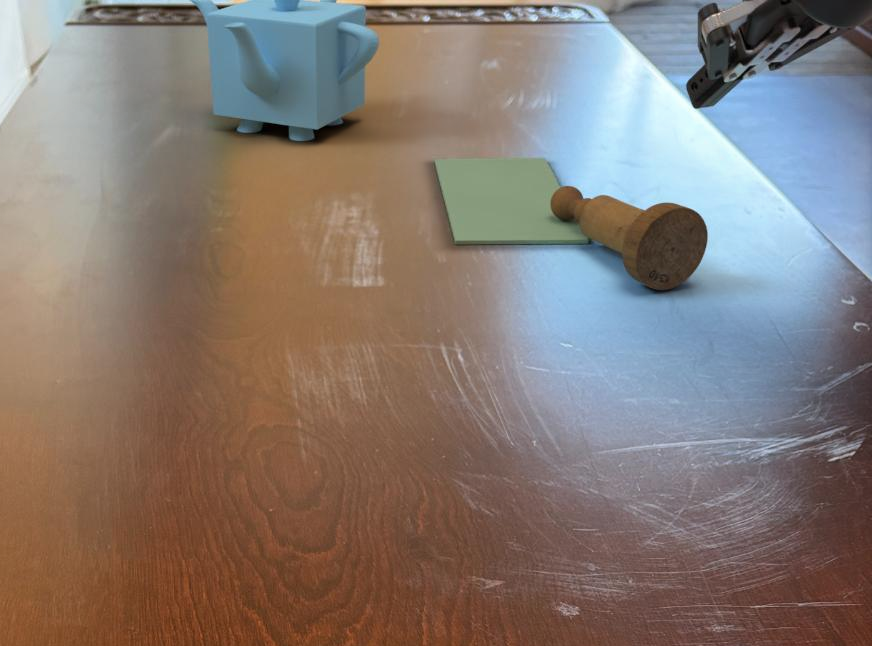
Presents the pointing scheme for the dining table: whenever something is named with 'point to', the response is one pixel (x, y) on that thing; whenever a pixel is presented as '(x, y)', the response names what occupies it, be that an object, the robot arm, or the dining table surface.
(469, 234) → the mat
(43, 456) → the dining table surface
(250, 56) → the teakettle
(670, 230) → the mortar and pestle
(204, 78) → the dining table surface
